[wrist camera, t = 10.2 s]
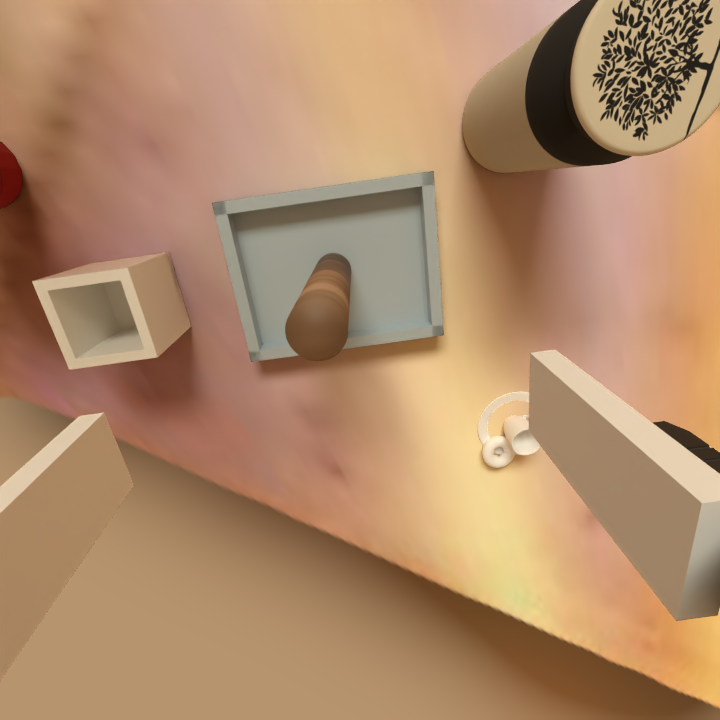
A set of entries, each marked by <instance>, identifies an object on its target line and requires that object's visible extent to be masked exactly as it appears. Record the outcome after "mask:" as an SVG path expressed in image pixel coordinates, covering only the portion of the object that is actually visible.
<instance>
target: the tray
mask: <svg viewBox="0 0 720 720" xmlns="http://www.w3.org/2000/svg"><path fill="white" fill-rule="evenodd" d="M212 206H213V210H214V214H215V218H216V222H217V226H218V230H219V234H220V238H221V242H222V246H223V250H224V254H225V258H226V262H227V266H228V270H229V274H230V278H231V282H232V286H233V290H234V294H235V298H236V302H237V306H238V310H239V314H240V318H241V323H242V327H243V331H244V335H245V339H246V343H247V347H248V351H249V355H250V359H251V362H255V361H263V360H270V359H277V358H284V357H291V356H298V354H297V353H296V352H295V351H294V350H293V349H292V348H291V347H290V345H289V343H288V341H287V339H286V335H285V325H286V321H287V318H288V316H289V314H290V312H291V311H292V309H293V307H294V305H295V303H296V301H297V300H298V298H299V296H300V294H301V292H302V290H303V289H304V287H305V285H306V283H307V281H308V279H309V277H310V276H311V274H312V272H313V270H314V268H315V266H316V265H317V263H318V261H319V260H320V258H321V257H323V256H324V255H326V254H329V253H338V254H341V255H342V256H344V257H345V258H346V259H347V260H348V261H349V263H350V266H351V287H350V306H349V324H348V337H347V341H346V344H345V345H344V347H343V349H349V348H356V347H363V346H370V345H377V344H384V343H392V342H399V341H406V340H413V339H420V338H427V337H435V336H442V335H444V331H443V314H442V298H441V282H440V266H439V250H438V233H437V217H436V201H435V185H434V171H430V172H423V173H416V174H409V175H402V176H395V177H388V178H381V179H375V180H368V181H361V182H354V183H347V184H340V185H333V186H326V187H319V188H312V189H305V190H298V191H291V192H284V193H277V194H270V195H263V196H256V197H249V198H242V199H235V200H228V201H221V202H214V203H212Z"/></svg>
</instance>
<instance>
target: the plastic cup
mask: <svg viewBox="0 0 720 720" xmlns="http://www.w3.org/2000/svg"><path fill="white" fill-rule="evenodd" d="M22 185H23V181H22V173H21V168H20V166H19V164H18V162H17V160H16V158H15V156H14V155H13V153H12V152H11V151H10V150H9V149H8V148H7V147H6V146H5V145H4V144H3V143H2V142H0V209H1V208H4V207H7V206H8V205H9V204H11V203H12V202H13V201H14V200H15V199H16V198H17V197H18V196H19V194H20V191H21V188H22Z"/></svg>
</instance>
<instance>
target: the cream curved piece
mask: <svg viewBox="0 0 720 720" xmlns="http://www.w3.org/2000/svg"><path fill="white" fill-rule="evenodd" d="M511 401H525V402H528V403H529V393H528V392H511V393H508V394H505V395H502V396H500V397H498V398H496V399H495V400H493V401H492V402H491V403H490V404H489V405H488V406H487V407H486V408H485V409H484V411H483V412H482V414H481V416H480V419H479V422H478V436H479V439H480V441H481V442H482V444H483V445H484V446H483V449H482V456H483V460H484V461H485V463H486V464H487V465H489V466H491V467H494V468H501V467H504V466H506V465H508V464H509V463H510V462H511V461H512V459H513V458H514V455H530V454H532V453H534V452H536V451H537V450H538V449H539V448H540V444H539V443H538V442H537V441H536V439H535V438H534V437H533V435H532V434H531V433H530V432H529V430H528V429H529V421H527V420H526V418H529V414H527V415H523V416H518V415H512V416H509V417H508V418H507V419H506V420H505V421H504V424H503V429H504V433H505V436H506V437H505V436H494V437H492V438H491V437H490V436H489V433H488V421H489V419H490V417H491V415H492V414H493V412H494V411H495V410H496V409H497V408H498V407H500V406H501V405H503V404H505V403H508V402H511ZM493 453H495V454H498V455H500V456H498V457H496V456H494V454H493Z"/></svg>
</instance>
